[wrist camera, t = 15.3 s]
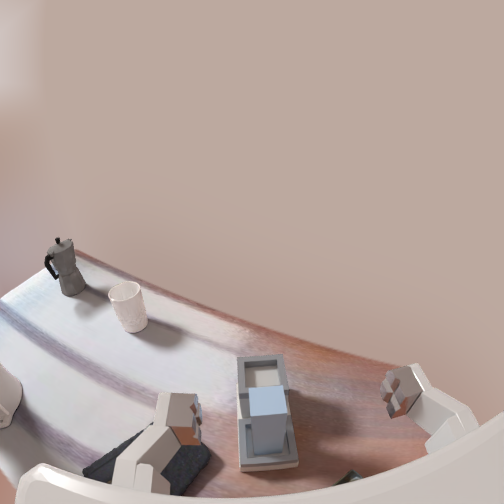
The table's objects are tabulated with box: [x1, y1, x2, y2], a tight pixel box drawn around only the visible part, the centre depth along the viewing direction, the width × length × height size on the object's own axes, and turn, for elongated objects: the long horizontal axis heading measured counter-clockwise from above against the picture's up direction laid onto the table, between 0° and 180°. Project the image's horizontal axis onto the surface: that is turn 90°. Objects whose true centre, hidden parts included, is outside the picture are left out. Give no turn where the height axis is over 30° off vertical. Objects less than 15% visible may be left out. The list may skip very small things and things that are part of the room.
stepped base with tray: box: [236, 354, 299, 472], centre depth 37 cm, size 16×8×10 cm, turn 3°
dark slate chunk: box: [82, 422, 211, 496], centre depth 29 cm, size 15×22×5 cm
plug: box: [249, 385, 287, 455], centre depth 31 cm, size 5×4×13 cm
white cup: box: [108, 282, 148, 333], centre depth 60 cm, size 8×8×10 cm
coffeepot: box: [44, 238, 86, 296], centre depth 71 cm, size 15×9×18 cm, turn 179°
